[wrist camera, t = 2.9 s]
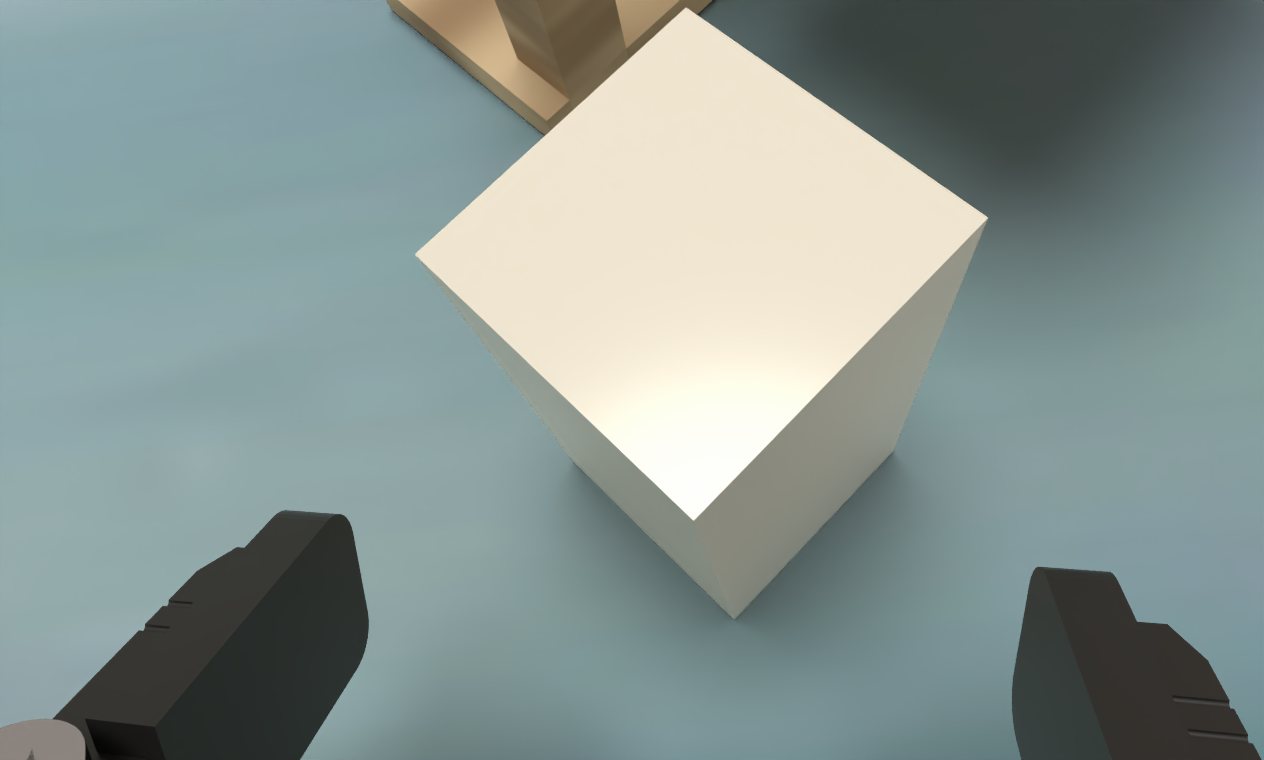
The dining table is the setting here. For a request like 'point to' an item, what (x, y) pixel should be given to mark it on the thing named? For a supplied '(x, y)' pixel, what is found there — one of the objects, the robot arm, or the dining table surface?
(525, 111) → the frame
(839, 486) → the white square pillar
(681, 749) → the dining table surface
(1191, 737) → the robot arm
